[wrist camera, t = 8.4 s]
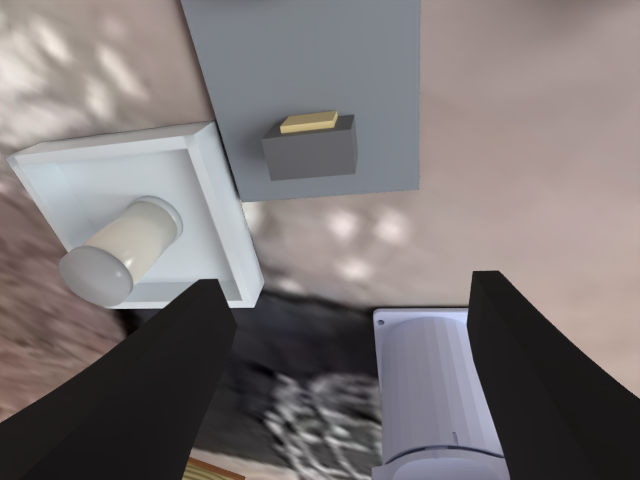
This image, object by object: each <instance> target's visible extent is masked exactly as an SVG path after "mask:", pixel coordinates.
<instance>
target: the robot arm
mask: <svg viewBox="0 0 640 480" xmlns="http://www.w3.org/2000/svg"><path fill="white" fill-rule="evenodd" d="M379 320H383V321H379ZM373 322H374V333H375V344H376V355H377V366H378V377H379V388H380V392H381V393H382V466H379V467H373V468H372V480H640V399H639V398H638V397H637V396H635V395H634V394H633V393H631V392H630V391H629V390H627V389H626V388H625V387H624V386H622V385H621V384H620V383H619V382H617V381H616V380H615V379H614V378H613V377H611V376H610V375H609V374H608V373H607V372H605V371H604V370H603V369H602V368H601V367H599V366H598V365H597V364H596V363H595V362H594V361H592V360H591V359H590V358H589V357H588V356H587V355H585V354H584V353H583V352H582V351H581V350H580V349H579V348H578V347H576V346H575V345H574V344H573V343H572V342H571V341H570V340H569V339H568V338H567V337H565V336H564V335H563V334H562V333H561V332H560V331H559V330H558V329H557V328H556V327H555V326H554V325H553V324H552V323H551V322H549V321H548V320H547V319H546V318H545V317H544V316H543V315H542V314H541V313H540V312H539V311H538V310H537V309H536V308H535V307H534V306H533V305H532V304H531V303H530V302H529V301H528V300H527V299H526V298H525V297H524V296H523V295H522V294H521V293H520V292H519V291H518V290H517V289H516V288H515V287H514V286H513V285H512V284H511V283H510V281H509V280H508V279H507V278H506V277H505V276H504V275H503V274H502V273H501V272H499V271H473V275H472V283H471V291H470V299H469V307H468V308H411V309H376V310H375V311H374V312H373ZM236 328H237V324H236V322H235V319H234V317H233V315H232V312H231V310H230V307H229V305H228V302H227V300H226V298H225V295H224V293H223V290H222V288H221V285H220V283H219V281H218V279H199V280H198V281H196V282H195V283H193V284H192V285H191V286H190V287H188V288H187V289H186V290H185V291H183V292H182V293H181V294H180V295H178V296H177V297H176V298H175V299H174V300H172V301H171V302H170V303H169V304H168V305H166V306H165V307H164V308H163V309H162V310H160V311H159V312H158V313H157V314H156V315H154V316H153V317H152V318H151V319H150V320H148V321H147V322H146V323H145V324H143V325H142V326H141V327H140V328H139V329H137V330H136V331H135V332H134V333H132V334H131V335H130V336H128V337H127V338H126V339H125V340H123V341H122V342H121V343H119V344H118V345H117V346H116V347H114V348H113V349H112V350H110V351H109V352H108V353H106V354H105V355H104V356H103V357H101V358H100V359H99V360H97V361H96V362H94V363H93V364H92V365H90V366H89V367H87V368H86V369H85V370H83V371H82V372H80V373H79V374H77V375H76V376H74V377H73V378H71V379H70V380H68V381H67V382H66V383H64V384H63V385H61V386H60V387H58V388H57V389H55V390H53V391H52V392H50V393H49V394H47V395H46V396H44V397H42V398H41V399H39V400H37V401H36V402H34V403H32V404H31V405H29V406H27V407H26V408H24V409H23V410H21V411H19V412H18V413H16V414H14V415H13V416H11V417H9V418H8V419H6V420H4V421H3V422H1V423H0V480H182V478H183V475H184V472H185V468H186V465H187V462H188V459H189V455H190V452H191V449H192V446H193V443H194V441H195V438H196V435H197V433H198V430H199V428H200V425H201V423H202V420H203V418H204V416H205V413H206V411H207V408H208V406H209V404H210V401H211V399H212V396H213V394H214V392H215V389H216V387H217V385H218V382H219V380H220V377H221V375H222V372H223V370H224V367H225V365H226V362H227V360H228V357H229V354H230V350H231V347H232V343H233V340H234V336H235V332H236Z"/></svg>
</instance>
